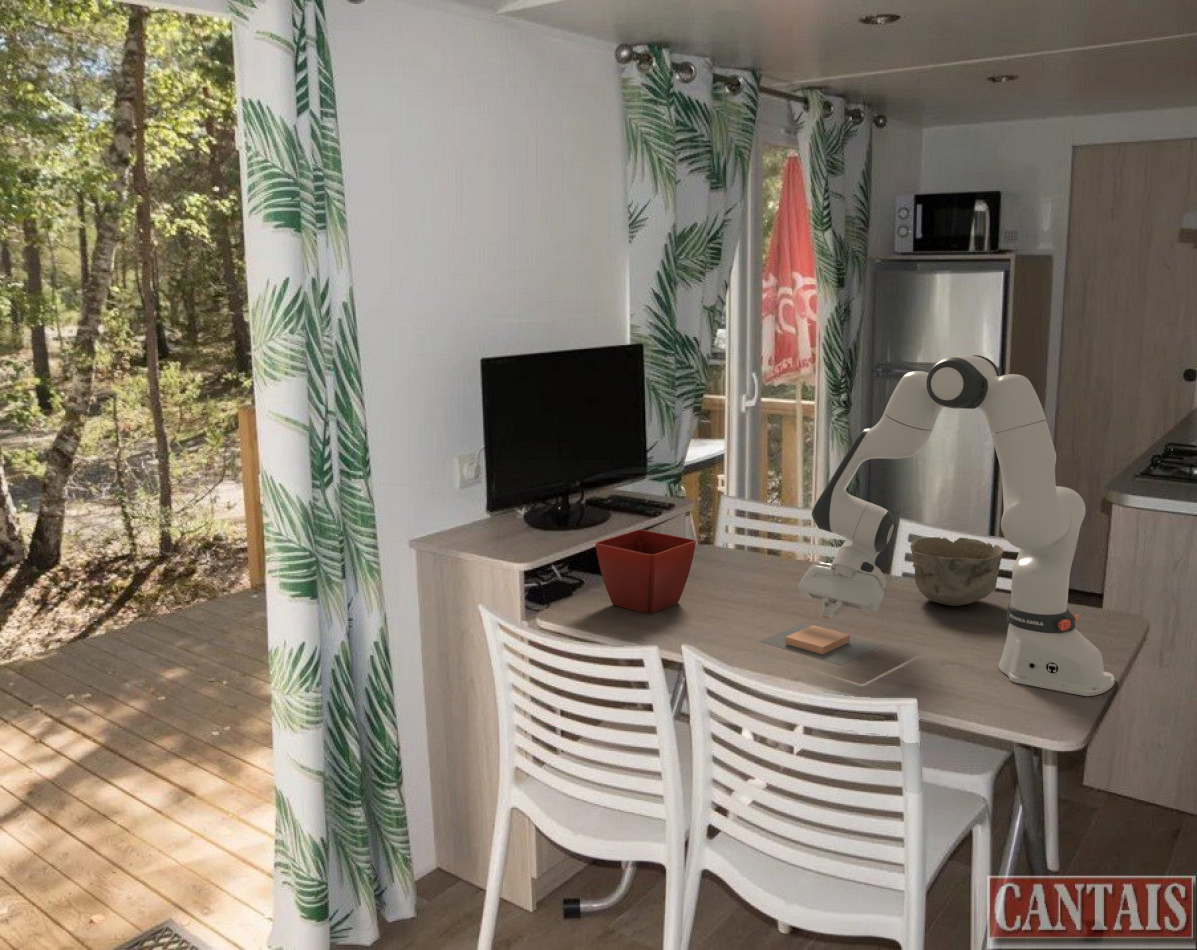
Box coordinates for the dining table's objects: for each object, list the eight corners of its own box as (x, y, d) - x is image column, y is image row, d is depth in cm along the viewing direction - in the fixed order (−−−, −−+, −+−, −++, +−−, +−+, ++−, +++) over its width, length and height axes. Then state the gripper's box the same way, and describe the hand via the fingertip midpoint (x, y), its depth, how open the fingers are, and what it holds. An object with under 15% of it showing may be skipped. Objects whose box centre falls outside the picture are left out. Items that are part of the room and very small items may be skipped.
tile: (850, 634, 244) (822, 647, 237) (849, 643, 245) (822, 655, 237) (813, 625, 251) (785, 636, 244) (812, 633, 252) (785, 645, 244)
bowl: (1016, 605, 271) (1020, 548, 268) (962, 622, 259) (965, 563, 256) (944, 585, 289) (947, 531, 286) (890, 600, 277) (892, 544, 274)
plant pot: (697, 602, 278) (698, 539, 275) (653, 621, 264) (652, 554, 261) (639, 589, 290) (639, 528, 287) (594, 606, 276) (593, 543, 273)
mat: (882, 647, 243) (882, 645, 243) (840, 667, 232) (840, 664, 231) (801, 625, 259) (801, 623, 259) (758, 643, 247) (758, 641, 247)
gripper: (808, 553, 256) (783, 601, 251) (884, 569, 241) (859, 621, 237) (818, 567, 260) (794, 615, 255) (894, 584, 245) (869, 635, 240)
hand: (826, 618), depth 246 cm, fingers closed
